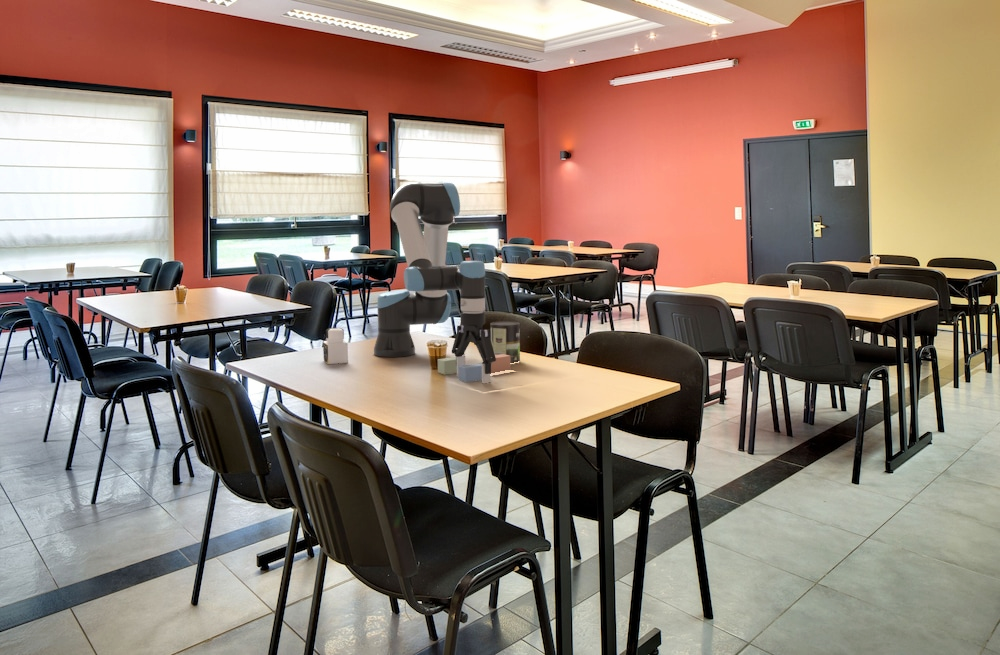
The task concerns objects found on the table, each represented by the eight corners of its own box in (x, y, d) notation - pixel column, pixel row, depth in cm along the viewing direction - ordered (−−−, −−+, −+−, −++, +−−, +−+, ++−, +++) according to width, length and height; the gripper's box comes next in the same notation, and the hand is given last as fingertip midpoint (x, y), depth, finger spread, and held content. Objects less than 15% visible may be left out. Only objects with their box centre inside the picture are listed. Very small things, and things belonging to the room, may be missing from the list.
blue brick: (465, 384, 223) (465, 368, 222) (458, 381, 226) (458, 366, 225) (487, 381, 227) (487, 365, 226) (480, 378, 231) (480, 363, 230)
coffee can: (520, 360, 259) (520, 321, 257) (520, 366, 249) (520, 325, 247) (490, 360, 260) (490, 321, 257) (489, 366, 249) (489, 325, 247)
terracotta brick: (490, 374, 234) (490, 358, 234) (483, 372, 238) (483, 356, 237) (510, 370, 239) (510, 355, 238) (502, 368, 242) (502, 354, 242)
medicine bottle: (323, 361, 259) (322, 327, 258) (343, 359, 262) (342, 326, 261) (327, 364, 253) (326, 330, 251) (348, 362, 256) (347, 328, 254)
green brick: (444, 376, 234) (444, 361, 233) (437, 374, 237) (437, 359, 236) (465, 373, 239) (465, 358, 238) (458, 371, 242) (458, 356, 241)
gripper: (440, 308, 231) (441, 375, 234) (487, 316, 212) (487, 389, 215) (459, 307, 236) (460, 372, 239) (507, 314, 216) (507, 385, 219)
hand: (473, 380), depth 227 cm, fingers open, 13 cm apart
